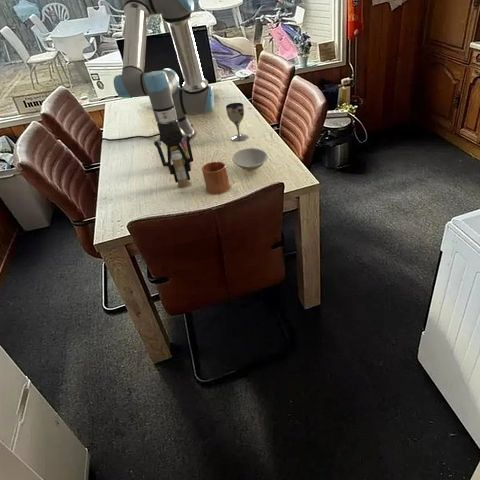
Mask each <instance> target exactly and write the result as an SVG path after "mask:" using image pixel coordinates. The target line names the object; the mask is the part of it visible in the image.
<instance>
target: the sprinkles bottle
mask: <svg viewBox="0 0 480 480" xmlns="http://www.w3.org/2000/svg"><path fill="white" fill-rule="evenodd" d="M171 163H172V164H173V166H174V170H175V174H176V177H177V181H178V183H177V185H178V187H180V188H186V187H188V186H189V185H190V180H188V176H187V173H186V169H185V164H184V161H183V156H182V154H181V152H180V151H173V152H171Z"/></svg>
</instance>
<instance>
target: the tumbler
mask: <svg viewBox="0 0 480 480" xmlns="http://www.w3.org/2000/svg"><path fill="white" fill-rule="evenodd" d="M201 172H202V176H203V180H204V183H205V184H204V185H205V189H206V192H207V193H208V194H211V195H219V194H224V193H226V192H227V191H229V189H230V181H229V177H228V171H227V165H226V163H225V162H222V161H210V162H207V163H205V164H204V165H202V167H201Z"/></svg>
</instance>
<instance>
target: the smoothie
mask: <svg viewBox="0 0 480 480" xmlns="http://www.w3.org/2000/svg"><path fill="white" fill-rule="evenodd" d="M180 130H181V132H182V133H183V134H185V132H183V130H182V129H181V128H180ZM180 143H181V145H182V147H183V149H184V151H185V153H186V155H187V157H188V158H190V157H189V153H188V148H187V143H186V141H185V140H184V138H182V140H181V142H180ZM170 149H171V152H173V151H180V150H179V149H178V147H177V146H173V147H170ZM183 161H184V162H185V160H184V158H183Z"/></svg>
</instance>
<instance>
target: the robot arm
mask: <svg viewBox="0 0 480 480" xmlns="http://www.w3.org/2000/svg"><path fill="white" fill-rule="evenodd" d="M194 9H195V2H194V0H124V3H123V15H124V17H125V27H124V28H125V29H124V44H123V46H124V47H123V56H122V68H121V69H122V70H121V74H117V75H115V76H114V77H113V87H114V90H115V92H116V94H117V95H118V97H120V98H121V99H133V98H141V97H149V101H150V105H151V109H152V112H153V116H154V119H155V122H156V127H157V129H158V133H155V134H152V135H133V136H127V137H121V138H119V137H118V138H106V137H101V138H100V140H99V142H103V141H106V142H117V141H118V142H119V141H125V140H131V139H140V138H141V139H151V138H155V137H158V136H159V138H157V139H154V140H153V145H154V146H155V147H156V149H157V152H158V155H159V158H160V161H161V164H162V167H165V168H166V167H167V168H168V171H169V174H170V175H171V176H172V175H173V178H174V181H175V183H176V184H178V181H177V177H176V174H175V170H174V166H173V163H172V159H171V149H170V147H173V146H177V147H178V149H179V150H180V152H181V154H182V156H183V158H184V160H185V162H184V164H185V169H186V173H187V176H188V180H189V181H191V177H190V172H191V171H192V167H191V164H190V163H193V162H194V156H193V151H192V147H191V139H192V138H193V137H194V136H195V130H194V125H193V123H192V124H191V122H190V121H189V118H188V115H197V114H198V115H199V114H204V115H205V114H208V113H209V114H210V113H212V112H213V111H214V108H215V90H214V89H215V88H214V87H213V85H212V84H209V81H208V80H207V78H204V75H203V71H202V67H201V62H200V58H199V54H198V51H197V46H196V42H195V37H194V34H193V29H192V26H191V25H192V24H191V21H190V20H191V18H192V16H193V11H194ZM154 15H161V16H162V21H163V22H164V23H166V24H167V25H168V28H169V31H170V35H171V39H172V41H173V45H174V49H175V52H176V53H175V54H176V55H177V60H178V63H179V66H180V70H181V73H182V78H183V80H184V82H183V84H182V87H181V85H180V77H179V76H178V74H177V72H176V71H175V70H173V69H172V68H162V69H161V70H155V71H149V72H145V63H146V50H147V35H148V34H147V33H148V24H149V23H150V21H151V16H154ZM180 128H181V129H182V130H183V132H185V134H183V133H182V132H181V130H180ZM182 138H184V140H185V141H186V143H187V148H188V153H189V158H188V157H187V155H186V153H185V151H184V149H183V147H182V145H181V143H180V142H181V140H182ZM162 143H163V144H164V145H165V146H166V156H167V161H166V158H165V155H164V151H163V148H162Z"/></svg>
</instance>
